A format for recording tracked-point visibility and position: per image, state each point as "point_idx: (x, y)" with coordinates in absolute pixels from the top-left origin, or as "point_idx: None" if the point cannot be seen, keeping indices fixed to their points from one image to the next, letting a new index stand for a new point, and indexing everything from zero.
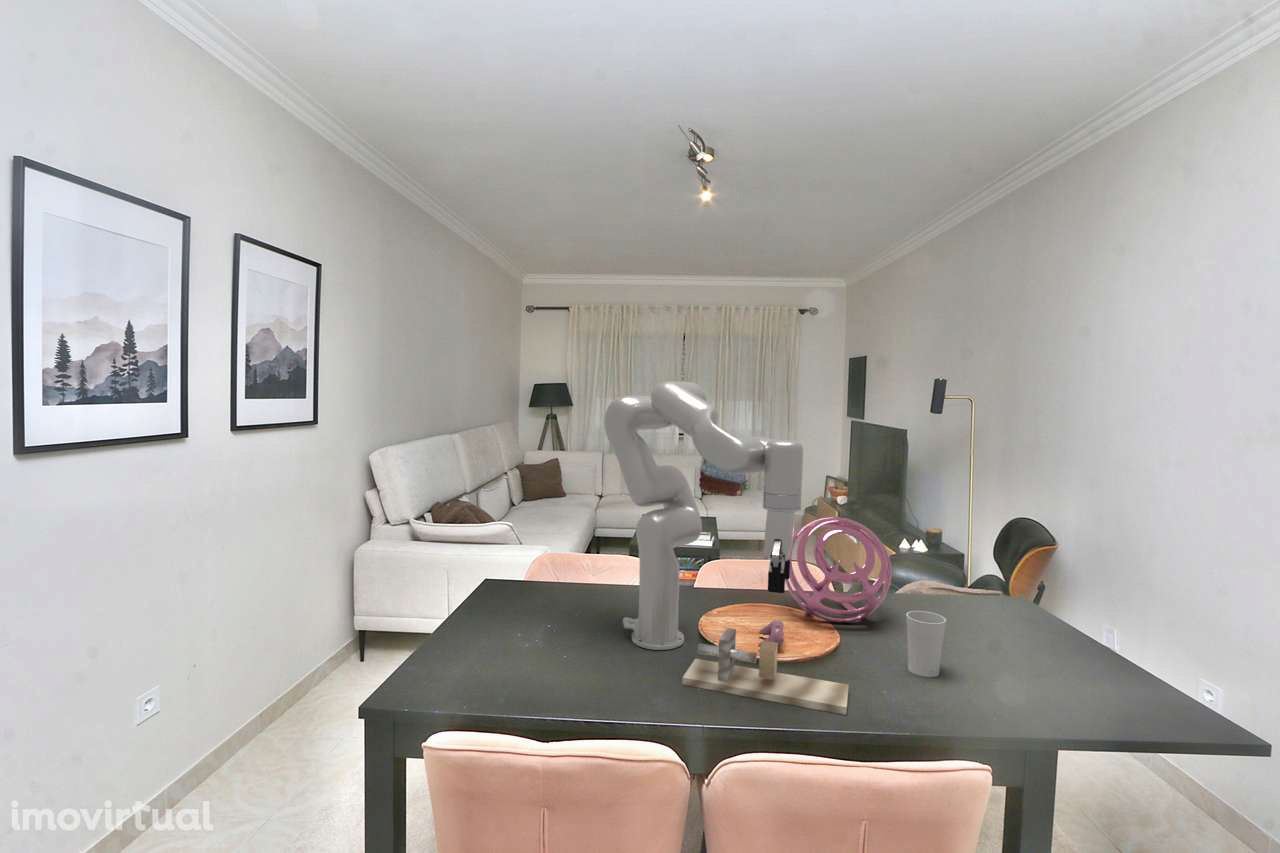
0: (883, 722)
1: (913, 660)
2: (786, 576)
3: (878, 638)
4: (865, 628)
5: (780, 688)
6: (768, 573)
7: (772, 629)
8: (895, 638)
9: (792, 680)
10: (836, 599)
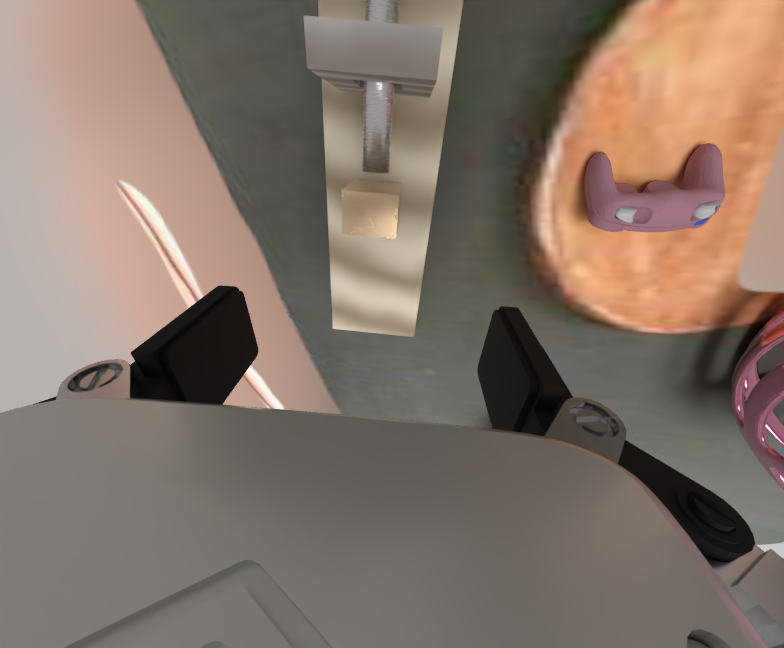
0: (336, 360)
1: None
2: (482, 371)
3: (647, 388)
4: (706, 376)
5: None
6: (143, 344)
7: (636, 199)
8: (644, 409)
9: (401, 248)
10: (770, 378)
